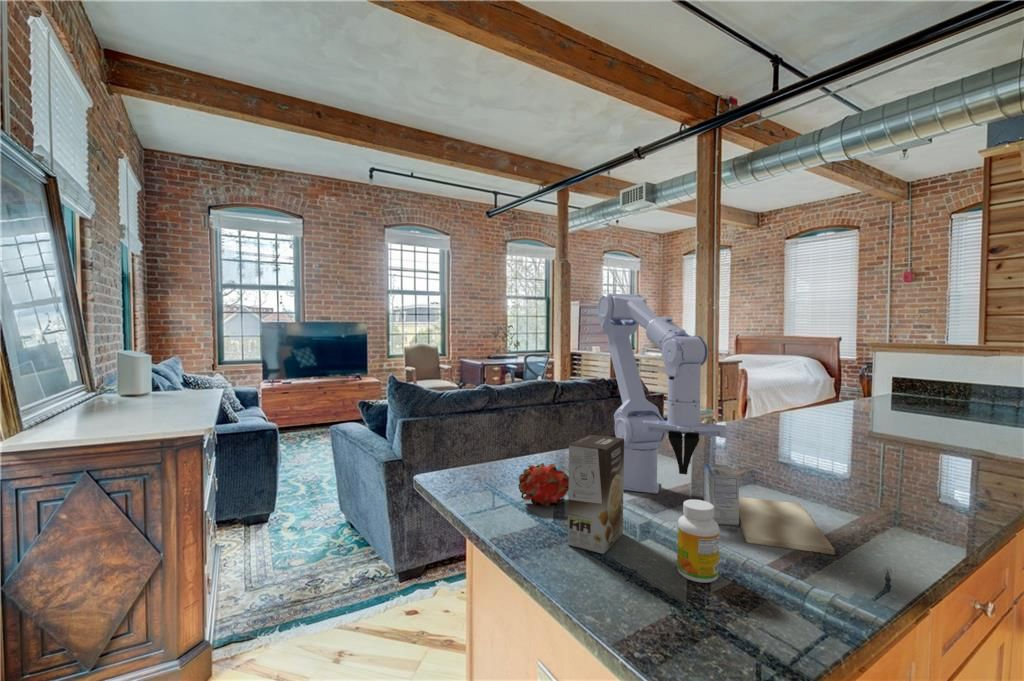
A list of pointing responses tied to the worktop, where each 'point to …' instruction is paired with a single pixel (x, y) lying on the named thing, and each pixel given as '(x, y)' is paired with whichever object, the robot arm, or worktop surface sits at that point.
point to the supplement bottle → (698, 542)
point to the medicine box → (722, 493)
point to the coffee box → (595, 492)
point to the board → (781, 525)
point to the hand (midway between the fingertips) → (683, 472)
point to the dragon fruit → (543, 484)
